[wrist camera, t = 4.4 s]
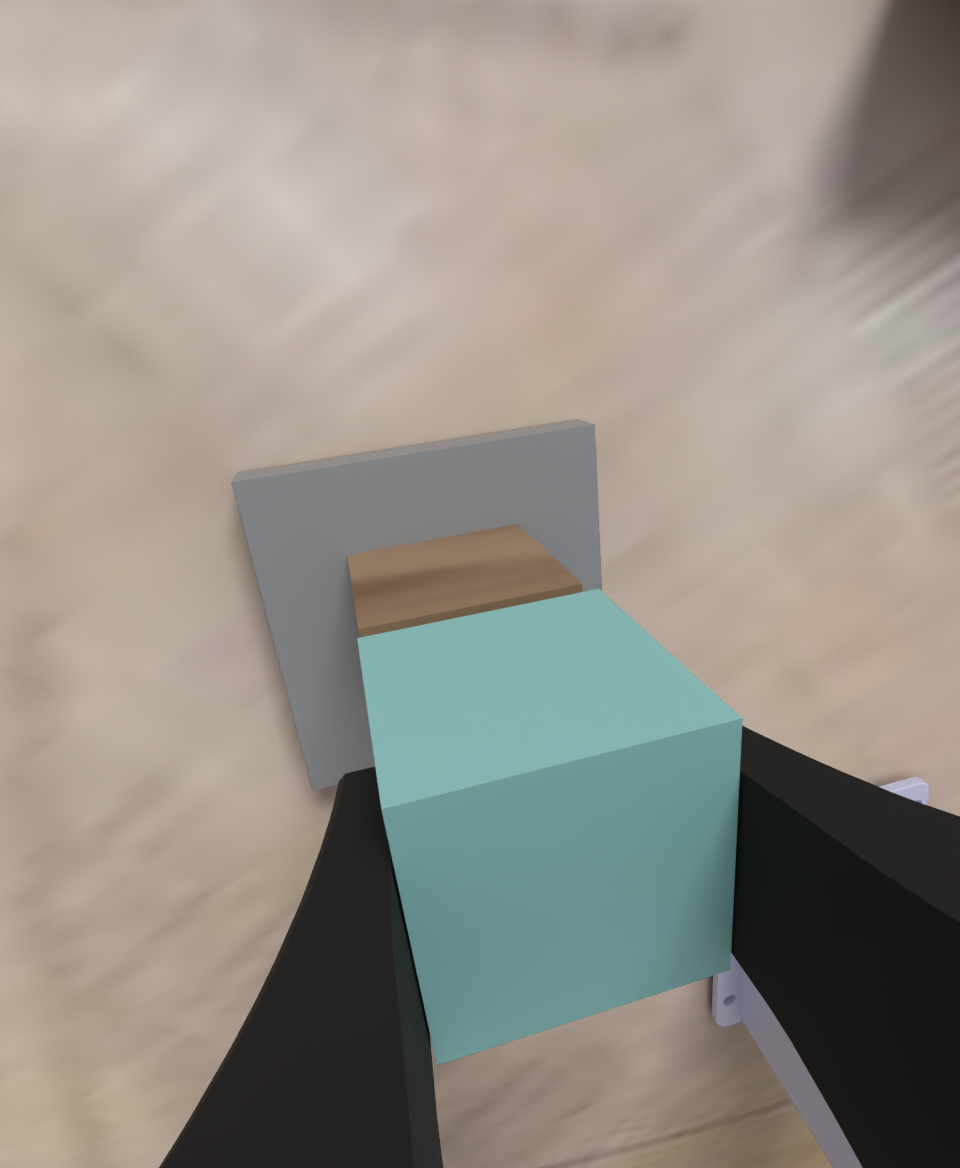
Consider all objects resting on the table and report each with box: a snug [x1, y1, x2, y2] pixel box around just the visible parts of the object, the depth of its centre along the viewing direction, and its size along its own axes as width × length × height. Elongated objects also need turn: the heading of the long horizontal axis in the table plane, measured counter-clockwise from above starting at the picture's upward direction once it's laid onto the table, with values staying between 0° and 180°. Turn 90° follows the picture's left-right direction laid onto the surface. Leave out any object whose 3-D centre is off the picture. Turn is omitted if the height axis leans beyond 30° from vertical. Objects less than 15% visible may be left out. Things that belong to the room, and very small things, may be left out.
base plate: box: [232, 419, 602, 791], centre depth 16 cm, size 8×8×1 cm
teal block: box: [357, 589, 742, 1065], centre depth 9 cm, size 4×4×4 cm
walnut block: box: [347, 524, 583, 638], centre depth 14 cm, size 4×4×4 cm
